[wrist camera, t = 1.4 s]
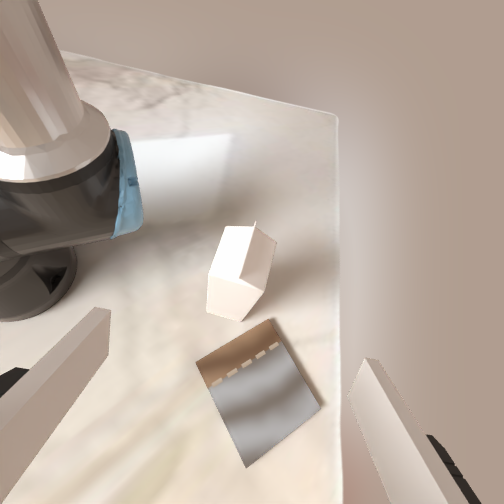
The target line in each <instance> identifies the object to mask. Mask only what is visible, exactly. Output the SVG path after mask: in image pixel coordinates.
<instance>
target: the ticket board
mask: <svg viewBox="0 0 504 504" xmlns="http://www.w3.org/2000/svg"><path fill="white" fill-rule="evenodd" d="M195 363H196V365H197V367H198V369H199V371H200V373H201V375H202V377H203V379H204V381H205V384H206V386H207V388H208V390H209V392H210V394H211V396H212V398H213V400H214V402H215V404H216V407H217V409H218V411H219V413H220V415H221V417H222V419H223V421H224V423H225V425H226V427H227V430H228V432H229V434H230V436H231V438H232V440H233V442H234V444H235V446H236V448H237V450H238V453H239V455H240V457H241V459H242V461H243V463H244V465H245V467H246V468H247V467H249V466H250V465H251V464H252V463H254V462H255V461H256V460H257V459H259V458H260V457H261V456H262V455H264V454H265V453H266V452H267V451H269V450H270V449H271V448H273V447H274V446H275V445H276V444H278V443H279V442H280V441H281V440H283V439H284V438H285V437H286V436H288V435H289V434H290V433H291V432H293V431H294V430H295V429H296V428H298V427H299V426H300V425H301V424H303V423H304V422H305V421H306V420H308V419H309V418H310V417H311V416H313V415H314V414H315V413H316V412H318V411H319V410H320V409H321V408H320V406H319V404H318V402H317V401H316V399H315V397H314V396H313V394H312V392H311V391H310V389H309V387H308V385H307V384H306V382H305V380H304V379H303V377H302V375H301V373H300V372H299V370H298V368H297V367H296V365H295V363H294V362H293V360H292V358H291V356H290V355H289V353H288V351H287V350H286V348H285V346H284V344H283V343H282V341H281V339H280V338H279V336H278V334H277V332H276V331H275V329H274V327H273V326H272V324H271V322H270V321H269V319H267V320H266V321H264V322H262V323H261V324H259V325H257V326H256V327H254V328H252V329H251V330H249V331H247V332H246V333H244V334H242V335H241V336H239V337H237V338H235V339H234V340H232V341H230V342H229V343H227V344H225V345H224V346H222V347H220V348H219V349H217V350H215V351H214V352H212V353H210V354H209V355H207V356H205V357H204V358H202V359H200V360H199V361H197V362H195Z"/></svg>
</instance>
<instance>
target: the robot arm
mask: <svg viewBox="0 0 504 504" xmlns="http://www.w3.org/2000/svg"><path fill="white" fill-rule="evenodd" d="M137 180H138V178H137V173H136V166H135V161H134V156H133V151H132V147H131V143H130V139H129V136H128V134H127V133H126V132H125V131H122V130H117V129H112V130H111V129H110V126H109V124H108V121H107V120H106V118H105V116H104V115H103V114H102V112H100V111H99V110H98V109H97V108H95V107H94V106H92V105H90V104H88V103H86V102H84V101H82V100H80V98H79V96H78V93H77V91H76V89H75V86H74V84H73V82H72V79H71V77H70V75H69V72H68V70H67V68H66V65H65V63H64V61H63V58H62V56H61V54H60V51H59V49H58V47H57V44H56V42H55V40H54V38H53V35H52V33H51V31H50V28H49V26H48V23H47V21H46V19H45V16H44V14H43V12H42V10H41V7H40V5H39V2H38V0H0V322H12V321H19V320H23V319H27V318H30V317H33V316H35V315H38V314H40V313H42V312H43V311H45V310H47V309H48V308H50V307H51V306H53V305H54V304H55V303H56V302H57V301H59V300H60V299H61V298H62V297H63V295H64V294H65V293H66V292H67V290H68V289H69V287H70V286H71V284H72V282H73V280H74V277H75V274H76V268H77V260H76V255H75V252H74V250H73V248H72V246H77V245H82V244H87V243H92V242H97V241H102V240H107V239H114V238H116V237H117V236H120V235H123V234H127V233H131V232H134V231H136V230H138V229H139V228H140V227H141V226H142V224H143V219H144V217H143V207H142V200H141V194H140V189H139V184H138V181H137ZM110 318H111V310H108V309H102V308H97V307H94V308H93V309H92V310H91V311H90V312H89V313H88V314H87V315H86V316H85V317H84V318H83V319H82V320H81V321H80V322H79V323H78V324H77V325H76V326H75V327H74V328H73V329H72V330H71V331H70V332H69V333H67V334H66V335H65V336H64V337H63V338H62V339H61V340H60V341H59V342H58V343H57V344H56V345H55V346H54V347H53V348H52V349H51V350H50V351H49V352H48V353H47V354H46V355H45V356H44V357H43V358H41V359H40V360H39V361H38V362H37V363H36V364H35V365H34V366H33V367H32V368H31V369H30V370H29V369H23V368H17V367H15V368H14V369H12V370H10V371H8V372H6V373H4V374H2V375H1V376H0V504H2V502H3V501H4V499H5V498H6V497H7V495H8V494H9V492H10V491H11V490H12V488H13V487H14V485H15V484H16V483H17V481H18V480H19V479H20V477H21V476H22V474H23V473H24V472H25V470H26V469H27V467H28V466H29V465H30V463H31V462H32V460H33V459H34V458H35V456H36V455H37V454H38V452H39V451H40V449H41V448H42V447H43V445H44V444H45V442H46V441H47V440H48V438H49V437H50V435H51V434H52V433H53V431H54V430H55V428H56V427H57V426H58V424H59V423H60V422H61V420H62V419H63V417H64V416H65V415H66V413H67V412H68V410H69V409H70V408H71V406H72V405H73V403H74V402H75V401H76V399H77V398H78V397H79V395H80V394H81V392H82V391H83V390H84V388H85V387H86V385H87V384H88V383H89V381H90V380H91V378H92V377H93V376H94V374H95V373H96V371H97V370H98V369H99V367H100V366H101V365H102V363H103V362H104V360H105V359H106V358H107V356H108V352H109V335H110ZM347 398H348V400H349V402H350V405H351V407H352V410H353V412H354V415H355V417H356V420H357V422H358V425H359V427H360V430H361V432H362V435H363V437H364V440H365V442H366V445H367V447H368V449H369V452H370V454H371V457H372V459H373V462H374V464H375V467H376V469H377V472H378V474H379V477H380V479H381V482H382V484H383V487H384V489H385V491H386V494H387V496H388V499H389V501H390V504H481V502H480V501H479V499H478V498H477V496H476V495H475V493H474V492H473V490H472V489H471V487H470V486H469V484H468V483H467V481H466V480H465V479H463V475H462V474H461V472H460V471H459V469H458V468H457V467H456V466H455V464H454V462H453V460H452V459H451V457H450V456H449V454H448V453H447V451H446V450H445V448H444V447H442V445H441V444H440V443H439V442H438V441H437V440H436V439H435V438H434V437H433V436H432V435H426V434H425V433H424V432H423V430H422V428H421V427H420V425H419V424H418V422H417V421H416V419H415V417H414V416H413V414H412V412H411V411H410V409H409V408H408V406H407V405H406V403H405V402H404V400H403V398H402V397H401V395H400V394H399V392H398V390H397V389H396V387H395V386H394V384H393V382H392V381H391V379H390V378H389V376H388V374H387V373H386V371H385V370H384V368H383V367H382V365H381V363H380V362H379V360H375V359H370V358H364V360H363V363H362V365H361V367H360V369H359V371H358V374H357V376H356V378H355V380H354V382H353V385H352V387H351V389H350V391H349V394H348V396H347Z"/></svg>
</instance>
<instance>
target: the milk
mask: <svg viewBox="0 0 504 504" xmlns="http://www.w3.org/2000/svg"><path fill="white" fill-rule="evenodd" d="M256 222H257V221H255V224H254V226H226V227H225V229H224V232H223V235H222V238H221V241H220V244H219V246H218V249H217V252H216V255H215V258H214V260H213V263H212V266H211V269H210V272H209V275H208V292H207V309H206V312H208V313H212V314H215V315H218V316H222V317H225V318H228V319H232V320H235V321H238V322H241V321H242V320H243V319H244V317H245V316H246V315H247V314H248V312H249V311H250V310H251V309H252V307H253V306H254V305H255V303H256V302H257V301H258V300H259V298H260V297H261V296H262V294H263V293H264V292H265V288H266V284H267V280H268V276H269V272H270V268H271V264H272V260H273V256H274V252H275V248H276V244H277V242H276V241H274V240H273V239H272V238H270V237H269V236H267V235H266V234H264V233H263V232H261V231H260V230H259V229H257V228H256V227H255V226H256Z"/></svg>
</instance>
